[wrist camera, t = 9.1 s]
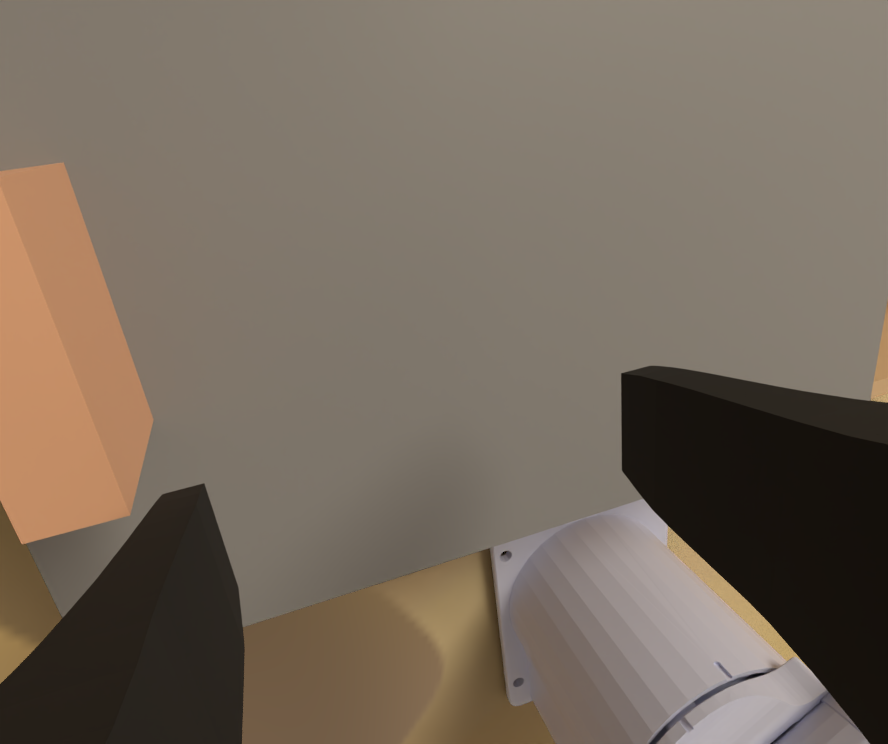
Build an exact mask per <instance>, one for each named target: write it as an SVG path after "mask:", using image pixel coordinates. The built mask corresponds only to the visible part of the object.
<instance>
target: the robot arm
mask: <svg viewBox="0 0 888 744" xmlns="http://www.w3.org/2000/svg"><path fill="white" fill-rule="evenodd" d="M621 431H622V471H623V473H624V474H625V475H626V477H627V478H628V479H629V481H630V482H631V483H632V485H633V486H634V487H635V489H636V490H637V491H638V493H639V494H640V495H641V496H642V498H643V499H641V500H638V501H635V502H632V503H628V504H625V505H622V506H619V507H616V508H613V509H610V510H607V511H604V512H600V513H597V514H594V515H591V516H588V517H585V518H582V519H579V520H576V521H572V522H569V523H566V524H563V525H560V526H557V527H554V528H551V529H548V530H544V531H541V532H538V533H535V534H532V535H529V536H526V537H523V538H520V539H516V540H513V541H510V542H507V543H504V544H501V545H498V546H495V547H491V548H490V553H491V562H492V571H493V579H494V588H495V597H496V606H497V614H498V623H499V632H500V641H501V649H502V658H503V667H504V676H505V685H506V693H507V698H508V700H509V702H510V704H511V705H513V706H520V705H523V704H526V703H528V702H531V701H533V702H534V704H535V706H536V708H537V710H538V712H539V714H540V715H541V717H542V719H543V721H544V723H545V725H546V727H547V729H548V730H549V732H550V734H551V736H552V738H553V740H554V742H555V744H888V403H885V402H875V401H867V400H859V399H852V398H845V397H839V396H832V395H826V394H819V393H813V392H806V391H801V390H795V389H789V388H784V387H778V386H773V385H768V384H762V383H757V382H752V381H747V380H742V379H736V378H731V377H726V376H721V375H716V374H710V373H705V372H699V371H694V370H688V369H681V368H674V367H666V366H647V367H643V368H639V369H636V370H632V371H628V372H624V373H621ZM668 526H669V527H670V528H671V529H672V530H673V531H674V532H675V533H676V534H677V535H678V536H679V537H680V538H682V539H683V540H684V541H685V542H686V543H687V544H688V545H689V546H690V547H691V548H692V549H693V550H694V551H695V552H696V553H697V554H698V555H700V556H701V557H702V558H703V559H704V560H705V561H706V562H707V563H708V564H709V565H710V566H711V567H712V568H713V569H714V570H715V571H717V572H718V573H719V574H720V575H721V576H722V577H723V578H724V579H725V580H726V581H727V582H728V583H729V584H730V585H731V586H733V587H734V588H735V589H736V590H737V591H738V592H739V593H740V594H741V595H742V596H743V597H744V598H745V599H746V600H747V601H748V602H749V603H750V604H751V605H752V606H753V607H754V608H755V609H756V610H757V611H758V612H759V613H760V614H761V615H762V616H763V617H764V618H765V619H766V620H767V621H768V622H769V623H770V624H771V625H772V626H773V628H774V629H775V630H776V631H777V632H778V633H779V635H780V636H781V637H782V638H783V639H784V640H785V641H786V643H787V644H788V645H789V646H790V647H791V648H792V649H793V651H794V652H795V653H796V654H797V655H798V656H799V657H800V659H801V660H802V661H803V662H804V663H805V664H806V665H804V664H803V663H802V662H801V661H800V660H799V659H798V658H797V657H792V658H791V659H790V660H788V661H786V660H785V659H784V658H783V657H782V656H781V655H780V654H779V653H778V652H776V651H775V650H774V649H773V648H772V647H771V646H770V645H769V644H768V643H767V642H766V641H765V640H764V639H763V638H762V637H761V636H760V635H759V634H758V633H757V632H756V631H754V630H753V629H752V628H751V627H750V626H749V625H748V624H747V623H746V622H745V621H744V620H743V619H742V618H741V617H740V616H739V615H738V614H737V613H736V612H735V611H734V610H733V609H731V608H730V607H729V606H728V605H727V604H726V603H725V602H724V601H723V600H722V599H721V598H720V597H719V596H718V595H717V594H716V593H715V592H714V591H713V590H712V589H711V588H709V587H708V586H707V585H706V584H705V583H704V582H703V581H702V580H701V579H700V578H699V577H698V576H697V575H696V574H695V573H694V572H693V571H692V570H691V569H690V568H689V567H687V566H686V565H685V564H684V563H683V562H682V561H681V560H680V559H679V558H678V557H677V556H676V555H675V554H674V553H673V552H672V551H671V550H670V549H669V548H668V547H667V530H668ZM504 551H507V552H506V554H504V555H503V556H500V555H501V553H502V552H504ZM243 686H244V636H243V625H242V615H241V606H240V597H239V588H238V585H237V582H236V578H235V575H234V572H233V569H232V566H231V563H230V560H229V557H228V554H227V551H226V548H225V545H224V542H223V539H222V536H221V533H220V530H219V527H218V524H217V520H216V517H215V514H214V511H213V508H212V505H211V502H210V499H209V496H208V493H207V490H206V487H205V484H204V483H203V484H199V485H195V486H192V487H188V488H184V489H180V490H176V491H173V492H169V493H165V494H162V495H161V496H160V497H159V499H158V500H157V501H156V502H155V503H154V505H153V506H152V507H151V509H150V510H149V511H148V513H147V514H146V515H145V517H144V518H143V519H142V521H141V522H140V523H139V525H138V526H137V527H136V529H135V530H134V531H133V533H132V534H131V535H130V537H129V538H128V539H127V541H126V542H125V543H124V544H123V546H122V547H121V548H120V550H119V551H118V552H117V553H116V555H115V556H114V557H113V558H112V560H111V561H110V562H109V564H108V565H107V566H106V567H105V569H104V570H103V571H102V573H101V574H100V575H99V576H98V578H97V579H96V580H95V581H94V583H93V584H92V585H91V586H90V587H89V588H88V589H87V591H86V592H85V593H84V594H83V595H82V596H81V598H80V599H79V600H78V601H77V602H76V603H75V604H74V606H73V607H72V608H71V609H70V610H69V611H68V613H67V614H66V615H65V616H64V617H63V618H62V619H61V621H60V622H59V623H58V624H57V625H56V626H55V628H54V629H53V630H52V631H51V632H50V633H49V634H48V636H47V637H46V638H45V639H44V640H43V641H42V642H41V643H40V644H39V645H38V646H37V647H36V648H35V650H34V651H33V652H32V653H31V654H30V655H29V656H28V657H27V658H26V659H25V660H24V661H23V662H22V663H21V664H20V665H19V666H18V667H17V668H16V669H15V670H14V671H13V672H12V673H11V674H10V675H9V676H8V677H7V678H6V679H5V680H4V681H3V682H2V683H1V684H0V744H242V717H243Z"/></svg>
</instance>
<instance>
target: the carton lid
mask: <svg viewBox="0 0 888 744" xmlns="http://www.w3.org/2000/svg"><path fill="white" fill-rule="evenodd" d="M887 301H888V0H0V501H1V503H2V505H3V507H4V509H5V511H6V513H7V515H8V517H9V519H10V521H11V523H12V525H13V527H14V530H15V532H16V534H17V536H18V538H19V540H20V542H21V544H26V545H27V547H28V549H29V551H30V553H31V555H32V557H33V559H34V561H35V563H36V565H37V567H38V569H39V571H40V573H41V576H42V578H43V580H44V582H45V584H46V586H47V588H48V590H49V592H50V594H51V596H52V598H53V600H54V602H55V604H56V606H57V608H58V610H59V612H60V615H61V617H62V618H63V617H64V616H65V615H66V614H67V613H68V611H69V610H70V609H71V608H72V607H73V606H74V604H75V603H76V602H77V601H78V600H79V599H80V598H81V596H82V595H83V594H84V593H85V592H86V591H87V589H88V588H89V587H90V586H91V585H92V584H93V583H94V581H95V580H96V579H97V578H98V576H99V575H100V574H101V573H102V571H103V570H104V569H105V567H106V566H107V565H108V564H109V562H110V561H111V560H112V558H113V557H114V556H115V555H116V553H117V552H118V551H119V550H120V548H121V547H122V546H123V544H124V543H125V542H126V541H127V539H128V538H129V537H130V535H131V534H132V533H133V531H134V530H135V529H136V527H137V526H138V525H139V523H140V522H141V521H142V519H143V518H144V517H145V515H146V514H147V513H148V511H149V510H150V509H151V507H152V506H153V505H154V503H155V502H156V501H157V500H158V499H159V497H160V496H161V495H162V494H165V493H169V492H173V491H176V490H180V489H184V488H188V487H192V486H195V485H199V484H203V483H204V484H205V487H206V490H207V493H208V496H209V499H210V502H211V505H212V508H213V511H214V514H215V517H216V520H217V524H218V527H219V530H220V533H221V536H222V539H223V542H224V545H225V548H226V551H227V554H228V557H229V560H230V563H231V566H232V569H233V572H234V575H235V578H236V582H237V585H238V588H239V597H240V606H241V615H242V625H243V627H246V626H249V625H252V624H255V623H258V622H261V621H264V620H267V619H271V618H274V617H277V616H280V615H283V614H286V613H289V612H292V611H295V610H299V609H302V608H305V607H308V606H311V605H314V604H317V603H320V602H323V601H326V600H330V599H333V598H336V597H339V596H342V595H345V594H348V593H351V592H355V591H358V590H361V589H364V588H367V587H370V586H373V585H376V584H379V583H383V582H386V581H389V580H392V579H395V578H398V577H401V576H404V575H407V574H411V573H414V572H417V571H420V570H423V569H426V568H429V567H432V566H435V565H439V564H442V563H445V562H448V561H451V560H454V559H457V558H460V557H463V556H467V555H470V554H473V553H476V552H479V551H482V550H485V549H488V548H491V547H495V546H498V545H501V544H504V543H507V542H510V541H513V540H516V539H520V538H523V537H526V536H529V535H532V534H535V533H538V532H541V531H544V530H548V529H551V528H554V527H557V526H560V525H563V524H566V523H569V522H572V521H576V520H579V519H582V518H585V517H588V516H591V515H594V514H597V513H600V512H604V511H607V510H610V509H613V508H616V507H619V506H622V505H625V504H628V503H632V502H635V501H638V500H641V499H643V498H642V496H641V495H640V494H639V493H638V491H637V490H636V489H635V487H634V486H633V485H632V483H631V482H630V481H629V479H628V478H627V477H626V475H625V474H624V473H623V471H622V431H621V373H624V372H628V371H632V370H636V369H639V368H643V367H647V366H666V367H674V368H681V369H688V370H694V371H699V372H705V373H710V374H716V375H721V376H726V377H731V378H736V379H742V380H747V381H752V382H757V383H762V384H768V385H773V386H778V387H784V388H789V389H795V390H801V391H806V392H813V393H819V394H826V395H832V396H839V397H845V398H852V399H859V400H867V401H870V399H871V393H872V388H873V382H874V376H875V370H876V364H877V359H878V353H879V347H880V341H881V335H882V330H883V324H884V318H885V312H886V306H887Z"/></svg>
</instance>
